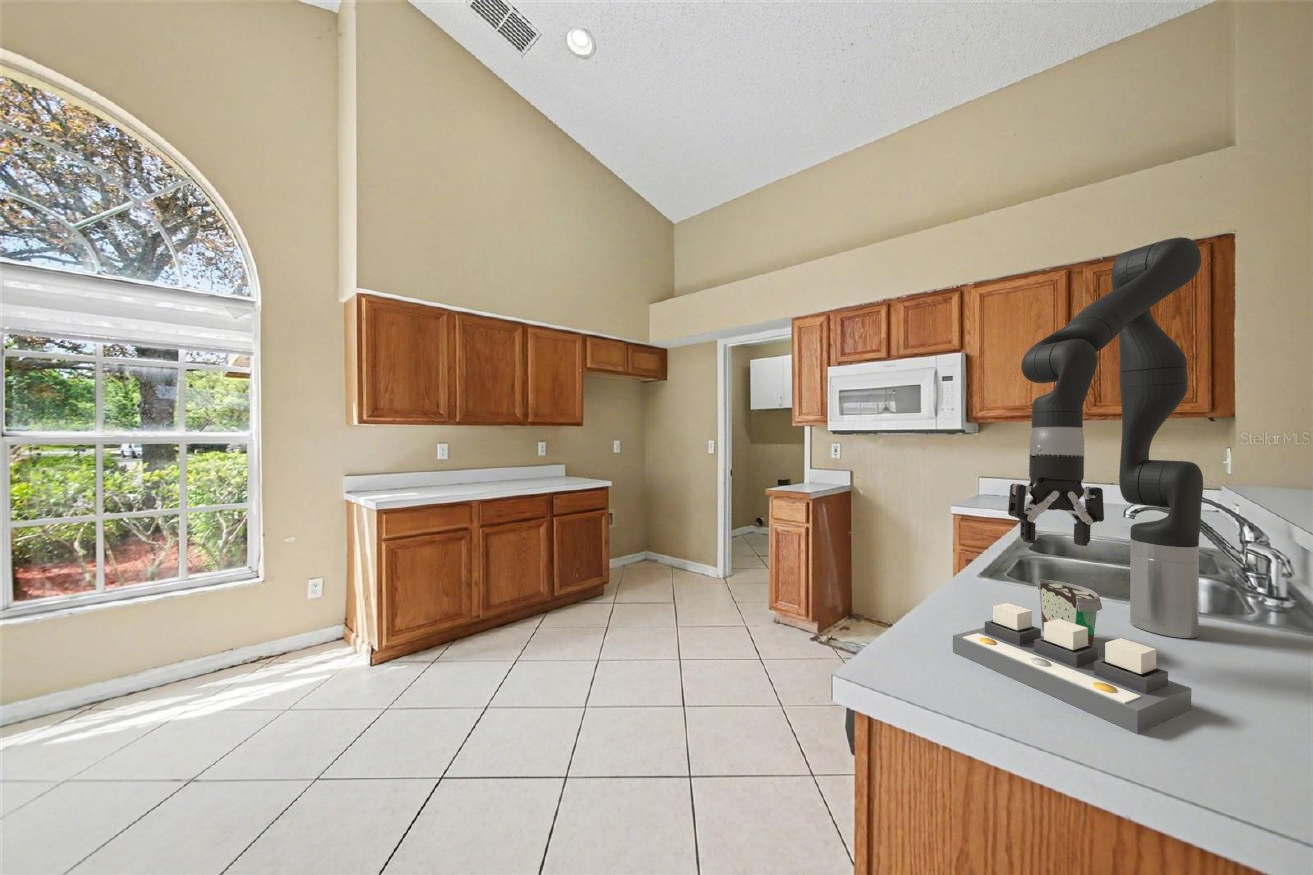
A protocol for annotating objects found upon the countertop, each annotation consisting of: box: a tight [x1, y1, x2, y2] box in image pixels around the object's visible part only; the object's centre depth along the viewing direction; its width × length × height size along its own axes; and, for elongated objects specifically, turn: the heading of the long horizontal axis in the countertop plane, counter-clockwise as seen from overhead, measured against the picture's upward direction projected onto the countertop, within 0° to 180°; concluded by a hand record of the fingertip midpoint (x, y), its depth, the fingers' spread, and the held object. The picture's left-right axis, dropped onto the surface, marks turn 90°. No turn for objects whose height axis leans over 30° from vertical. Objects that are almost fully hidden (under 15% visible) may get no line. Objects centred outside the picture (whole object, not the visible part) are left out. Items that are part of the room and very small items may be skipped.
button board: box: [952, 619, 1192, 735], centre depth 76 cm, size 14×25×5 cm, turn 22°
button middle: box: [1043, 619, 1088, 650], centre depth 76 cm, size 4×4×3 cm
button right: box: [1104, 637, 1157, 674], centre depth 69 cm, size 4×4×3 cm
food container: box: [1037, 579, 1103, 647], centre depth 88 cm, size 12×6×10 cm, turn 168°
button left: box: [992, 602, 1033, 630], centre depth 84 cm, size 4×4×3 cm
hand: (1054, 543), depth 85 cm, fingers open, 8 cm apart
